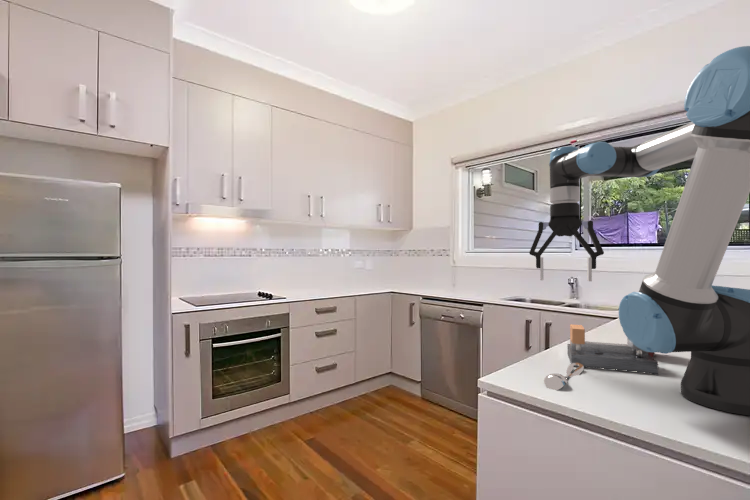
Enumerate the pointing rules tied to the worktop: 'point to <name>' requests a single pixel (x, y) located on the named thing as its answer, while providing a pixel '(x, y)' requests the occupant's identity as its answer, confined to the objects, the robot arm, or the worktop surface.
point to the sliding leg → (577, 335)
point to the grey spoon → (562, 377)
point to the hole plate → (613, 360)
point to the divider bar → (612, 348)
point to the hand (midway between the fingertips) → (565, 280)
